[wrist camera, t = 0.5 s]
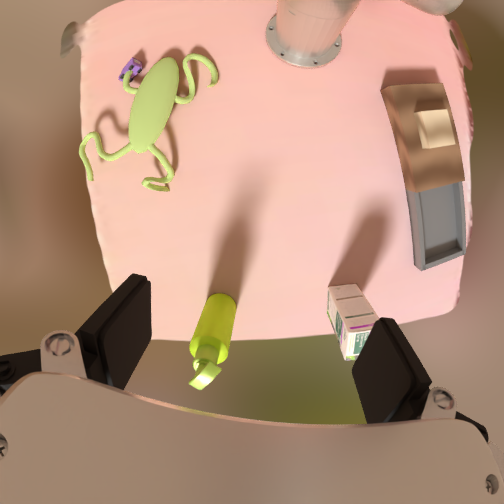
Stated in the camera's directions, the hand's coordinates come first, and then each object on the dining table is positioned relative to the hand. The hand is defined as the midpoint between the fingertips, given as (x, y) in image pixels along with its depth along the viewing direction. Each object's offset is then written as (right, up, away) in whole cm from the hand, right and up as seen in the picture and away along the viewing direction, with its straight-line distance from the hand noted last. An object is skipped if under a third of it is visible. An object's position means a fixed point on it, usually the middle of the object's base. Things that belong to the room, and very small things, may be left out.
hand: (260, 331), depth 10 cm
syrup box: (+17, -5, +39) cm, 42 cm away
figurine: (-18, +26, +30) cm, 43 cm away
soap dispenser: (-6, -7, +40) cm, 41 cm away
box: (+35, +9, +32) cm, 48 cm away
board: (+30, +24, +27) cm, 47 cm away
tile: (+29, +23, +23) cm, 44 cm away
